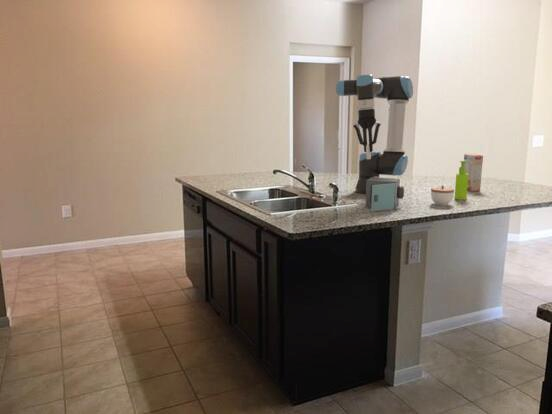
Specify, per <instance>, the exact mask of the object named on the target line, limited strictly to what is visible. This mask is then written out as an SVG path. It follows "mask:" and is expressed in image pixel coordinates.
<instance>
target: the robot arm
mask: <svg viewBox="0 0 552 414" xmlns="http://www.w3.org/2000/svg"><path fill="white" fill-rule="evenodd" d="M335 91H336V94H337V96H339V97H345V96H346V97H348V96H349V97H350V96H353V97H354V96H357V108H358V109H359V110H357V112H358V113H357V114H358V120H357V123H355V124H353V125H352V126H353V128H354V129H355V131H356V136H357V138H358V141H359V145H362V146H363V153H360V154H359V159H358V179H357V183H356V185H355V189H354V190H355V192H356V193H359V194H365V195H366V180H368V179H370V178H371V177H373V178H374V177H379V178H380V175H381V176H394V177H395V176H397V177H398V176H402V175H404V173H405V172H406V170H407V166H408V161H409V160H408V157H409V156H408V155H407V154H406V151H405V150H404V149H403V143H404V141H403V139H404V131H405V130H404V129H405V118H406V117H405V114H406V105H407V104H408V103H409V101H410V100H409V99H412V97H413V95H414V85H413V81H412V79H411V78H410V76H407V75H405V76H403V75H399V76H383V77H376V78H374V75H373V74H362V75H357V76H356V79H346V80H345V79H342V80H338V81H337V83H336V84H335ZM375 98H376V99H385V100H386V102H387V103H388V104H389V108H388V120H387V121H388V122H387V133H386V134H387V136H386V148H385V149H384V150H383V152H382V153H381V151H377V150H376V151H373V150H374V149H373V145H374V144H376V143H377V140H378V134H379V129H380V126H381V125H382V123H381V122H379V121H377V118H376V114H375V113H376V112H375V111H376V110H375ZM374 126H375V128H374ZM360 128H362V133H361V130H360ZM373 128H374V129H375V130H374V133H373ZM367 133H368V134H367Z"/></svg>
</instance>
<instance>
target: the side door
mask: <svg viewBox="0 0 552 414" xmlns="http://www.w3.org/2000/svg"><path fill="white" fill-rule="evenodd" d="M396 197H397V183H392V184H380V185H372V204H371V207H370V212H378V211H387V210H396V209H397V207H396Z"/></svg>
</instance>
